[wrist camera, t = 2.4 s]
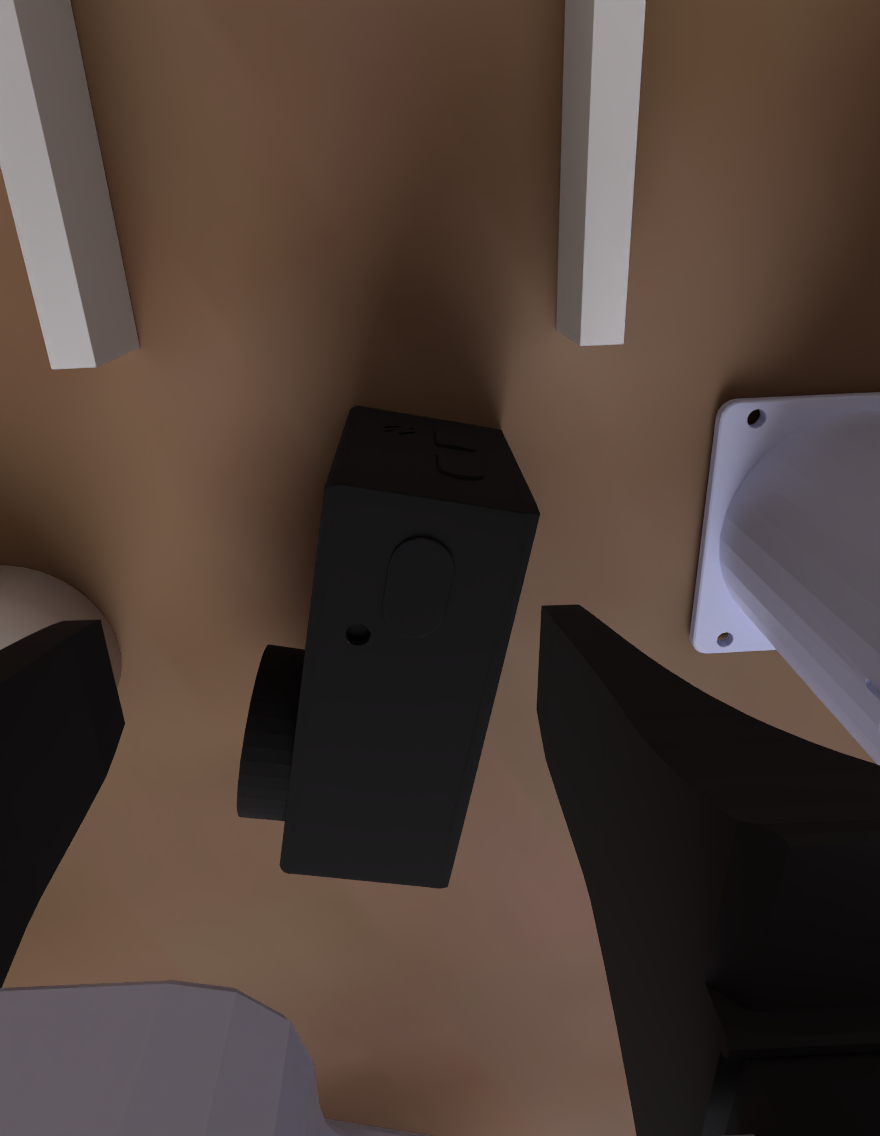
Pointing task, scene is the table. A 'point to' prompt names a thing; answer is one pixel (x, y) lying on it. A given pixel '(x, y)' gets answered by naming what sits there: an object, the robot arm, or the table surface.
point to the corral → (86, 223)
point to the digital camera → (392, 653)
